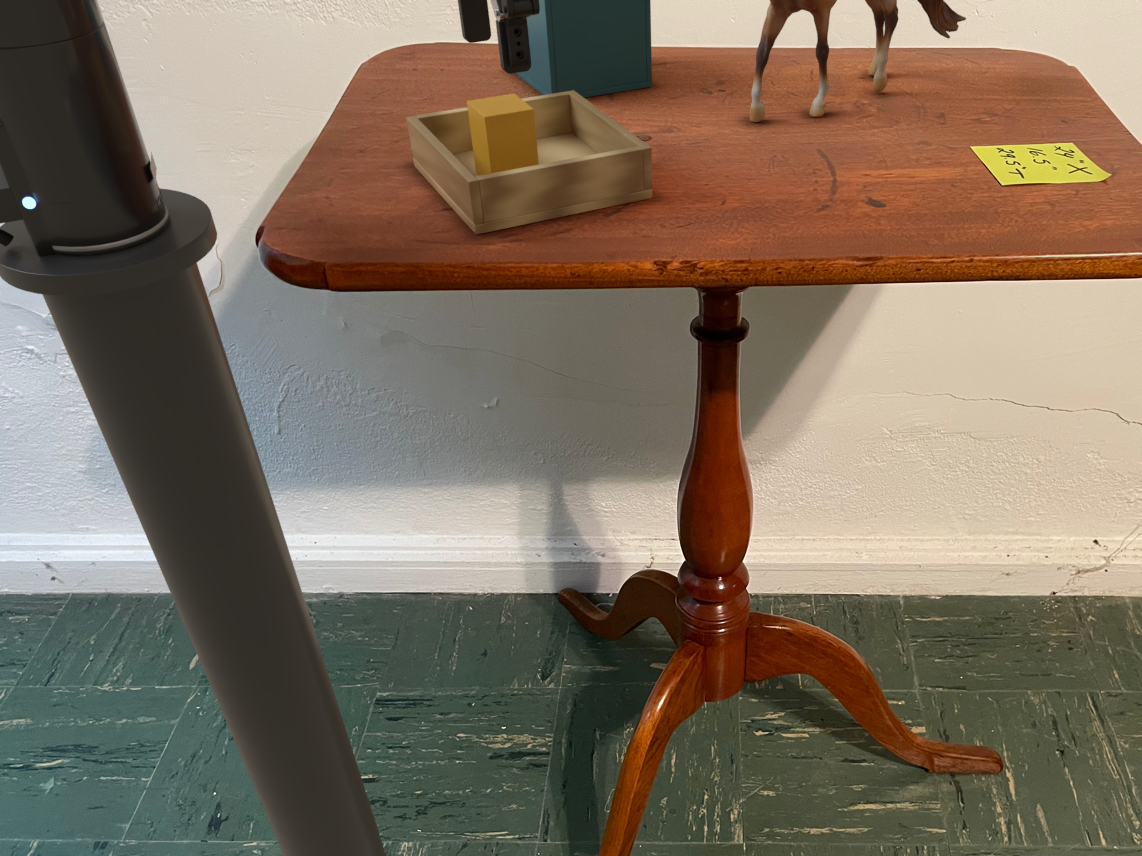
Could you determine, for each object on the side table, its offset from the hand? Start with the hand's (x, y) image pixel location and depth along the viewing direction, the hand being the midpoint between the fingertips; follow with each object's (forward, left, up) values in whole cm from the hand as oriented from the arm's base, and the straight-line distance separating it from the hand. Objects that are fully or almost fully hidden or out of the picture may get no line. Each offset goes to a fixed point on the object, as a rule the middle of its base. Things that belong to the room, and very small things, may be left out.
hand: (496, 55), depth 85 cm
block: (0, 0, -10) cm, 10 cm away
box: (+2, 0, -11) cm, 11 cm away
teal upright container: (+17, +23, -11) cm, 30 cm away
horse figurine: (+39, +3, -11) cm, 40 cm away
